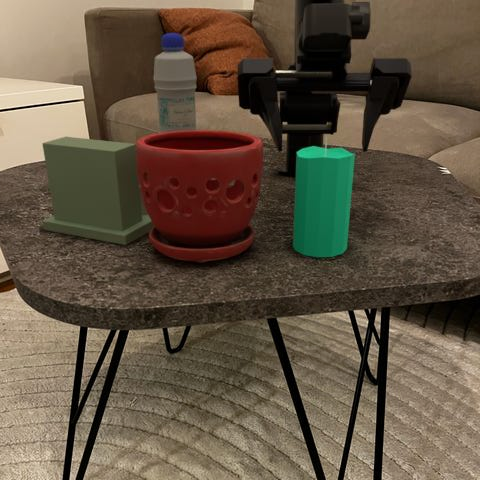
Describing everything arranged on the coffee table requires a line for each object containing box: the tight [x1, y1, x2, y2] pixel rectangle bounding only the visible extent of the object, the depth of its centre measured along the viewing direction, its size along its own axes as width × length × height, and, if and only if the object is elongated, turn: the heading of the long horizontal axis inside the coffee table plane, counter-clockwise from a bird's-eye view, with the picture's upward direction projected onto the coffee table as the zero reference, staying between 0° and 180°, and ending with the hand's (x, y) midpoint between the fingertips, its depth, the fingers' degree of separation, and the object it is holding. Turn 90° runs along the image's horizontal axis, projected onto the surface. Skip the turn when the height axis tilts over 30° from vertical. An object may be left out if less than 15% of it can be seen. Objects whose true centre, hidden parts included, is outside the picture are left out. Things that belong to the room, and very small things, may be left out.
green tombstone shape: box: [42, 136, 154, 246], centre depth 74 cm, size 18×12×10 cm, turn 154°
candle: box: [292, 136, 356, 258], centre depth 63 cm, size 6×6×12 cm
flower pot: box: [135, 129, 264, 264], centre depth 63 cm, size 13×13×12 cm
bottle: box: [153, 32, 198, 133], centre depth 94 cm, size 7×7×20 cm
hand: (322, 149), depth 64 cm, fingers open, 9 cm apart
